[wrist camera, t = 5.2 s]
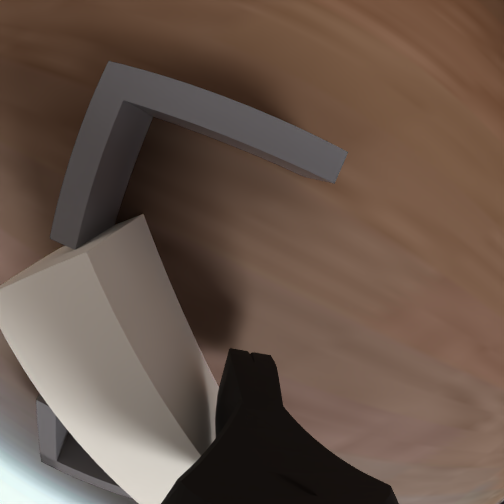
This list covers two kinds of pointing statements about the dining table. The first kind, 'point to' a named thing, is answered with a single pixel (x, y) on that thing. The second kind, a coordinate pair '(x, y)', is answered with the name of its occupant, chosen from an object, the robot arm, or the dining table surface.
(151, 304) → the cream rectangular block
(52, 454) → the end cap
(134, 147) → the end cap
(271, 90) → the dining table surface
